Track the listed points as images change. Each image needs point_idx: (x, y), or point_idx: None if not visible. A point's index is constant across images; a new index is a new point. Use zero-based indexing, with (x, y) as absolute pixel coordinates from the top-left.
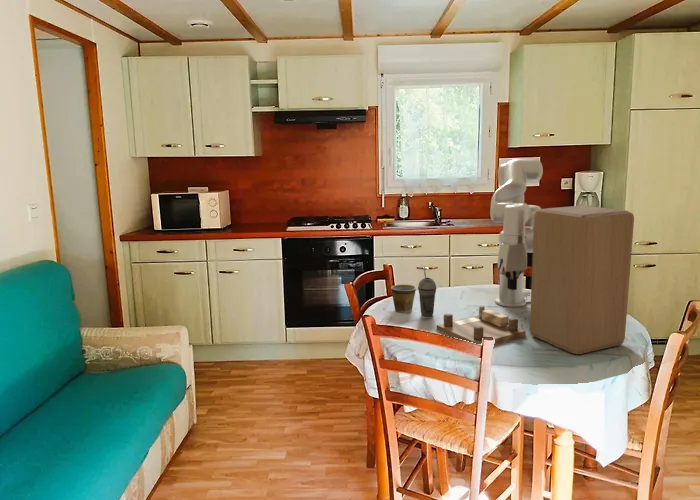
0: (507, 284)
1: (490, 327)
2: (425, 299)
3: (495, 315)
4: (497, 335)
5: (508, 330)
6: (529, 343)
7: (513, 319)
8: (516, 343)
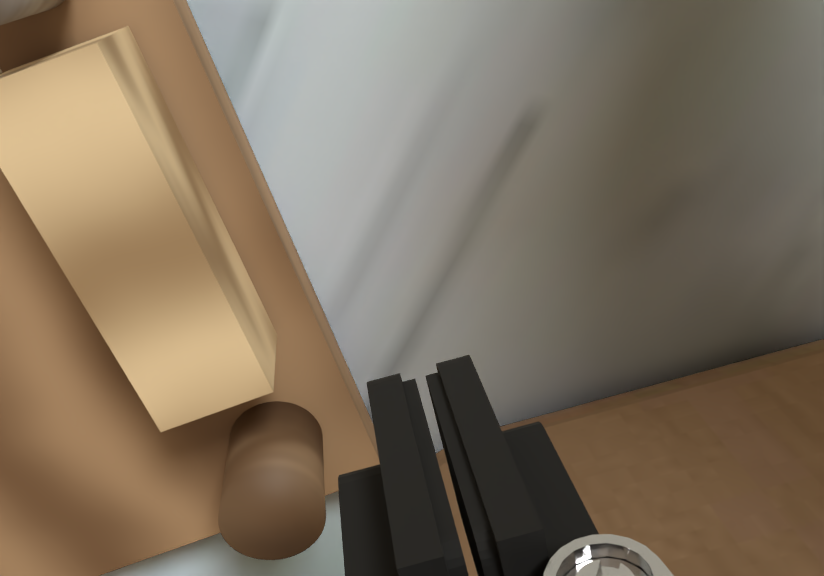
0: (341, 501)
1: (59, 339)
2: None
3: (110, 340)
4: (69, 541)
5: (226, 444)
6: (337, 569)
7: (270, 525)
8: (233, 559)
